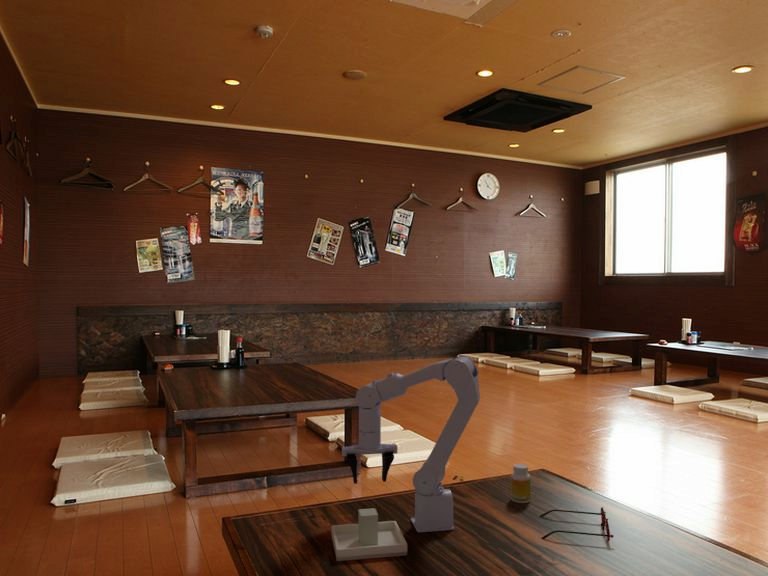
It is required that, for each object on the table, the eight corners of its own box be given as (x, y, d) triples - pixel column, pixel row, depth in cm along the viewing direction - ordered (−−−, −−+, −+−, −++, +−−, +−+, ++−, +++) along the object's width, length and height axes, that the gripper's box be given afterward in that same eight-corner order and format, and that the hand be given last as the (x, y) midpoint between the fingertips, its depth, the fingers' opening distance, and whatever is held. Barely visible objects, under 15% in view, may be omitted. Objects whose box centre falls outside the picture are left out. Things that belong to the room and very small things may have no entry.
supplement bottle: (530, 504, 161) (530, 469, 161) (510, 502, 162) (511, 468, 162) (529, 497, 166) (529, 463, 166) (510, 495, 168) (510, 462, 167)
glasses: (613, 547, 136) (613, 526, 136) (540, 540, 140) (540, 520, 140) (605, 523, 149) (605, 504, 149) (539, 517, 153) (539, 498, 153)
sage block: (374, 537, 138) (375, 508, 138) (377, 544, 135) (378, 514, 134) (358, 538, 138) (358, 509, 138) (360, 546, 134) (361, 516, 134)
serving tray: (395, 530, 144) (395, 520, 144) (407, 555, 131) (407, 544, 131) (331, 535, 141) (331, 525, 141) (336, 561, 128) (336, 550, 128)
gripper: (393, 425, 157) (393, 474, 157) (340, 427, 155) (340, 478, 155) (399, 431, 150) (399, 483, 151) (343, 434, 148) (343, 487, 148)
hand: (369, 481), depth 152 cm, fingers open, 7 cm apart
